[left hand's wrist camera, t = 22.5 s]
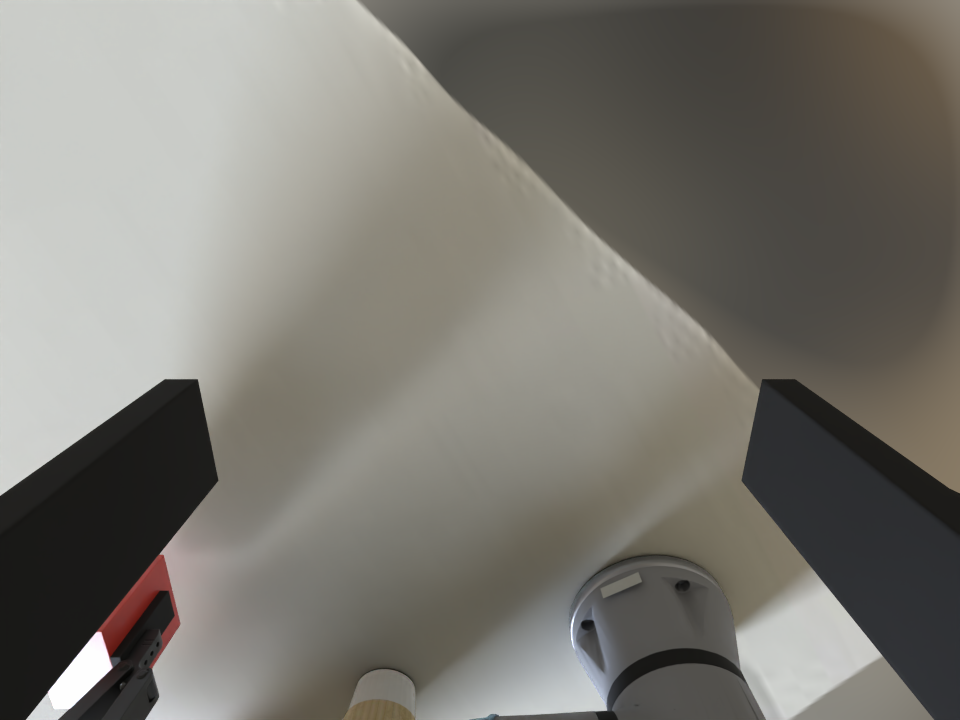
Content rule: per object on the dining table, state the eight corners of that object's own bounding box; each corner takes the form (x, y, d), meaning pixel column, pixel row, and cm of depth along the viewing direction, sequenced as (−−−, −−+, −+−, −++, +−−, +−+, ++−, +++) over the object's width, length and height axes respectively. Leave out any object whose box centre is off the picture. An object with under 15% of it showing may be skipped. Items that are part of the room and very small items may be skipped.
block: (164, 554, 46) (102, 631, 38) (181, 624, 48) (126, 709, 41) (99, 554, 45) (24, 631, 38) (119, 624, 48) (53, 709, 40)
